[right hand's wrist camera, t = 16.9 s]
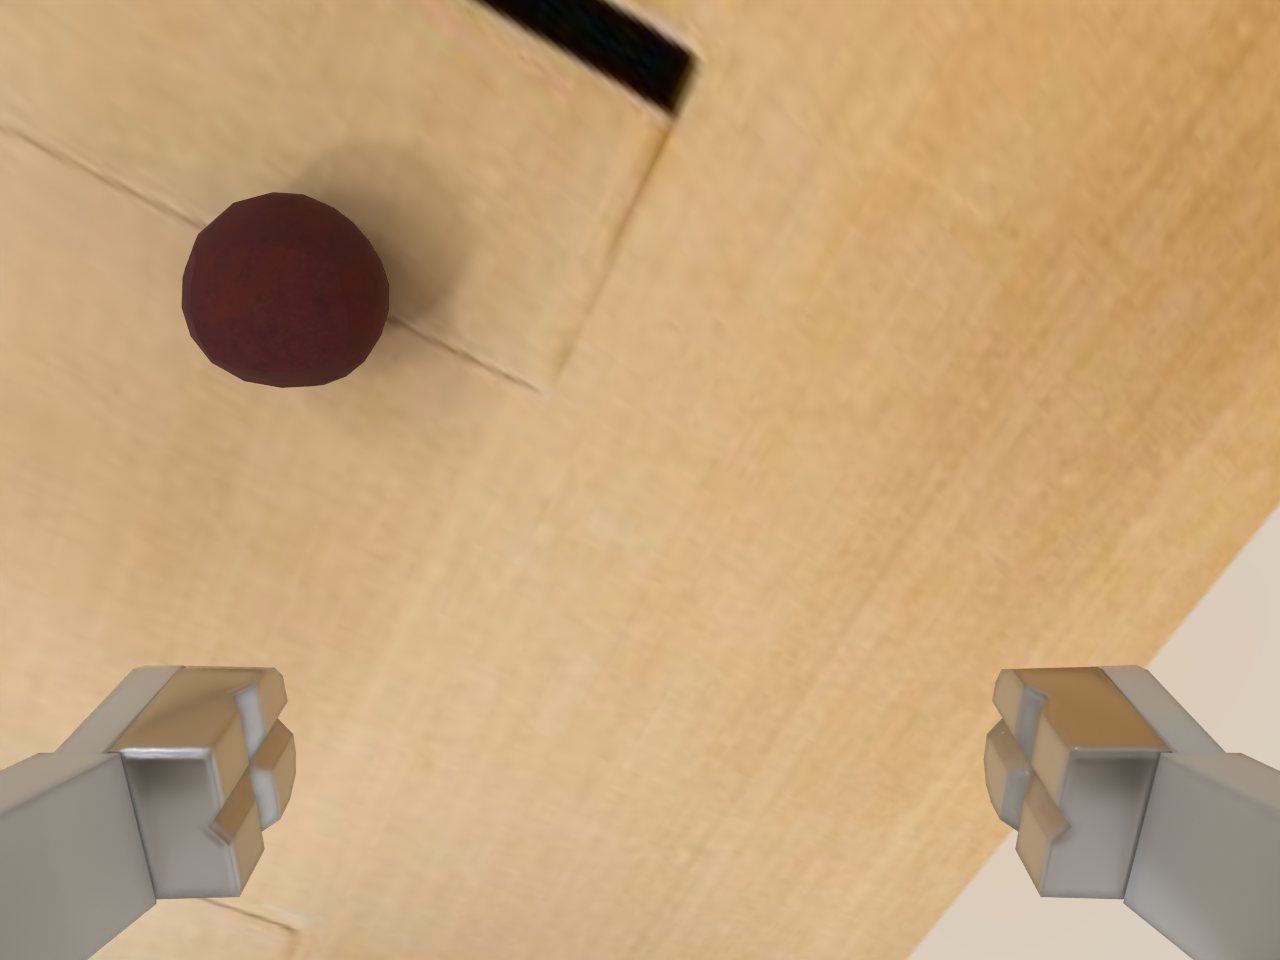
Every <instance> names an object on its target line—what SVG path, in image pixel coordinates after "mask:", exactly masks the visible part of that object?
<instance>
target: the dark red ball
mask: <svg viewBox="0 0 1280 960" xmlns="http://www.w3.org/2000/svg"><path fill="white" fill-rule="evenodd" d="M182 310H183V313H184V316H185V319H186V323H187V326H188V329H189V332H190V335H191V337H192V338H193V340H194V341H195V342H196V343H197V345H198V346H199V347H200V349H201V350H202V351H203V352H204V354H205V355H206V356H207V357H208V359H209V360H210V361H211V362H212V363H213V364H215V365H217V366H219V367H220V368H222V369H224V370H226V371H227V372H229V373H231V374H233V375H235V376H236V377H238V378H240V379H242V380H244V381H247V382H253V383H258V384H264V385H270V386H275V387H281V388H285V387H304V386H317V385H325V384H327V383H330V382H332V381H335V380H338V379H340V378H343V377H345V376H347V375H348V374H349V373H351V372H352V371H353V370H354V369H356V368H357V367H358V366H359V365H361V364H362V363H363V362H364V361H365V360H366V358H367V357H368V355H369V353H370V352H371V350H372V349H373V347H374V346H375V344H376V343H377V341H378V339H379V338H380V336H381V334H382V331H383V327H384V324H385V321H386V317H387V314H388V310H389V284H388V280H387V277H386V274H385V271H384V268H383V265H382V262H381V260H380V258H379V257H378V255H377V253H376V252H375V250H374V248H373V247H372V245H371V243H370V242H369V240H368V239H367V238H366V237H365V236H364V235H363V234H362V232H361V231H360V230H359V229H358V228H357V227H356V226H355V224H354V223H353V222H352V221H350V220H349V219H348V218H346V217H345V216H344V215H343V214H341V213H340V212H339V211H337V210H336V209H335V208H333V207H331V206H328V205H326V204H324V203H322V202H319V201H317V200H315V199H312V198H310V197H308V196H306V195H303V194H289V193H275V192H272V193H269V194H265V195H261V196H257V197H254V198H250V199H246V200H243V201H239V202H235V203H233V204H232V205H231V206H230V207H228V208H227V209H226V210H225V211H224V212H223V213H222V214H221V215H219V216H218V217H217V218H216V219H215V220H214V221H213V222H211V223H210V224H209V225H208V226H207V227H206V228H205V229H204V230H202V231H201V232H200V233H199V234H198V236H197V238H196V241H195V243H194V246H193V248H192V251H191V254H190V257H189V259H188V262H187V265H186V268H185V271H184V275H183V285H182Z"/></svg>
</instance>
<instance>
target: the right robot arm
mask: <svg viewBox="0 0 1280 960" xmlns="http://www.w3.org/2000/svg"><path fill="white" fill-rule="evenodd" d="M287 701H288V700H287V695H286V691H285V686H284V681H283V676H282V675H281V674H280V673H279V672H278V671H277V670H276V669H275V668H263V667H213V666H188V667H185V666H144V667H139V668H135V669H133V670H132V671H131V672H130V673H129V674H128V675H127V676H126V677H125V679H124V680H123V681H122V682H121V683H120V684H119V685H118V686H117V687H116V688H115V689H114V690H113V691H112V692H111V693H110V694H109V695H108V696H107V697H106V699H105V700H104V701H103V702H102V703H101V704H100V705H99V706H98V707H97V708H96V709H95V710H94V711H93V712H92V713H91V714H90V715H89V716H88V717H87V719H86V720H85V721H84V722H83V723H82V724H81V725H80V726H79V727H78V728H77V729H76V730H75V731H74V732H73V733H72V734H71V735H70V736H69V737H68V739H67V740H66V741H65V742H64V743H63V744H62V745H61V746H60V747H59V748H58V749H57V750H56V751H55V752H54V753H38V754H36V755H34V756H32V757H29V758H27V759H25V760H23V761H21V762H19V763H17V764H14V765H12V766H10V767H8V768H6V769H4V770H2V771H0V960H87V959H88V958H90V957H91V956H92V955H93V954H95V953H96V952H97V951H98V950H99V949H101V948H102V947H103V946H104V945H106V944H107V943H108V942H109V941H111V940H112V939H113V938H114V937H116V936H117V935H118V934H119V933H121V932H122V931H123V930H124V929H126V928H127V927H128V926H129V925H130V924H132V923H133V922H134V921H135V920H137V919H138V918H139V917H140V916H142V915H143V914H144V913H145V912H147V911H148V910H149V909H150V908H152V907H153V906H154V905H155V904H156V899H181V898H216V897H240V895H241V893H242V891H243V889H244V887H245V885H246V883H247V881H248V880H249V878H250V876H251V874H252V872H253V870H254V868H255V866H256V864H257V863H258V861H259V859H260V857H261V855H262V853H263V851H264V843H263V837H262V831H263V830H265V829H266V828H268V827H269V826H271V825H272V824H274V823H275V822H277V821H278V820H280V819H281V817H282V815H283V812H284V810H285V808H286V806H287V804H288V802H289V800H290V797H291V792H292V788H293V783H294V779H295V774H296V751H295V744H294V737H293V734H292V733H291V732H290V731H289V730H288V729H287V728H286V727H285V725H284V724H283V723H282V722H281V721H280V720H279V719H278V716H279V714H280V713H281V711H282V709H283V708H284V706H285V704H286V703H287ZM992 701H993V703H994V704H995V706H996V708H997V709H998V711H999V713H1000V714H1001V716H1002V719H1001V720H1000V721H999V722H998V723H997V724H996V725H995V726H994V728H993V729H992V730H991V731H990V732H989V733H988V734H987V738H986V746H985V753H984V768H985V779H986V786H987V789H988V793H989V796H990V799H991V803H992V805H993V807H994V809H995V811H996V813H997V815H998V817H999V819H1000V820H1002V821H1003V822H1005V823H1006V824H1008V825H1009V826H1011V827H1012V828H1014V829H1015V830H1017V831H1018V837H1017V843H1016V851H1017V853H1018V855H1019V857H1020V859H1021V861H1022V862H1023V864H1024V866H1025V868H1026V870H1027V872H1028V874H1029V876H1030V878H1031V879H1032V881H1033V883H1034V885H1035V887H1036V889H1037V891H1038V893H1039V894H1040V896H1041V897H1062V898H1098V899H1124V902H1123V903H1124V904H1125V905H1126V906H1128V907H1129V908H1130V909H1131V910H1133V911H1134V912H1135V913H1136V914H1138V915H1139V916H1140V917H1141V918H1142V919H1144V920H1145V921H1146V922H1147V923H1149V924H1150V925H1151V926H1152V927H1154V928H1155V929H1156V930H1157V931H1159V932H1160V933H1161V934H1162V935H1164V936H1165V937H1166V938H1167V939H1168V940H1170V941H1171V942H1172V943H1173V944H1175V945H1176V946H1177V947H1178V948H1180V949H1181V950H1182V951H1183V952H1185V953H1186V954H1187V955H1188V956H1190V957H1191V958H1192V959H1193V960H1280V771H1278V770H1276V769H1274V768H1272V767H1270V766H1268V765H1265V764H1263V763H1261V762H1259V761H1257V760H1255V759H1253V758H1251V757H1248V756H1246V755H1244V754H1242V753H1226V752H1225V751H1224V750H1223V749H1222V748H1221V747H1220V746H1219V745H1218V744H1217V743H1216V742H1215V741H1214V740H1213V738H1212V737H1211V736H1210V735H1209V734H1208V733H1207V732H1206V731H1205V730H1204V729H1203V728H1202V727H1201V726H1200V725H1199V724H1198V723H1197V722H1196V721H1195V719H1194V718H1193V717H1192V716H1191V715H1190V714H1189V713H1188V712H1187V711H1186V710H1185V709H1184V708H1183V707H1182V706H1181V705H1180V704H1179V703H1178V702H1177V700H1176V699H1175V698H1174V697H1173V696H1172V695H1171V694H1170V693H1169V692H1168V691H1167V690H1166V689H1165V688H1164V687H1163V686H1162V685H1161V684H1160V683H1159V682H1158V680H1157V679H1156V678H1155V677H1154V676H1153V675H1152V674H1151V673H1150V672H1149V671H1148V670H1146V669H1144V668H1142V667H1139V666H1137V665H1125V666H1098V667H1074V668H1033V669H1002V670H1001V672H1000V674H999V676H998V678H997V680H996V683H995V689H994V695H993V700H992Z"/></svg>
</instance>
